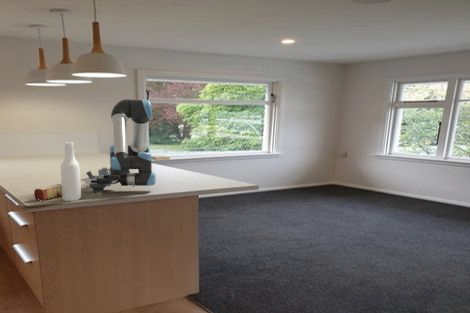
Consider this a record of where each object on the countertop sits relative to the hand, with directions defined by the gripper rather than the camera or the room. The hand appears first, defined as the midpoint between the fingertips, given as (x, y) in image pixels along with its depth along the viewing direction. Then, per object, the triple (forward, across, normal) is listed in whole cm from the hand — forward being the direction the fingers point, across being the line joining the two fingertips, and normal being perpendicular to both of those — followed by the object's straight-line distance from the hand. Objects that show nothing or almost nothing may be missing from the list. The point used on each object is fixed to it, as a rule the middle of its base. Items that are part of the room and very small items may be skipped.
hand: (88, 179), depth 193 cm
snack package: (+14, -11, -8) cm, 19 cm away
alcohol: (+2, -19, -7) cm, 20 cm away
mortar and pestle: (-4, 0, -7) cm, 8 cm away
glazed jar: (-4, +16, -7) cm, 18 cm away
